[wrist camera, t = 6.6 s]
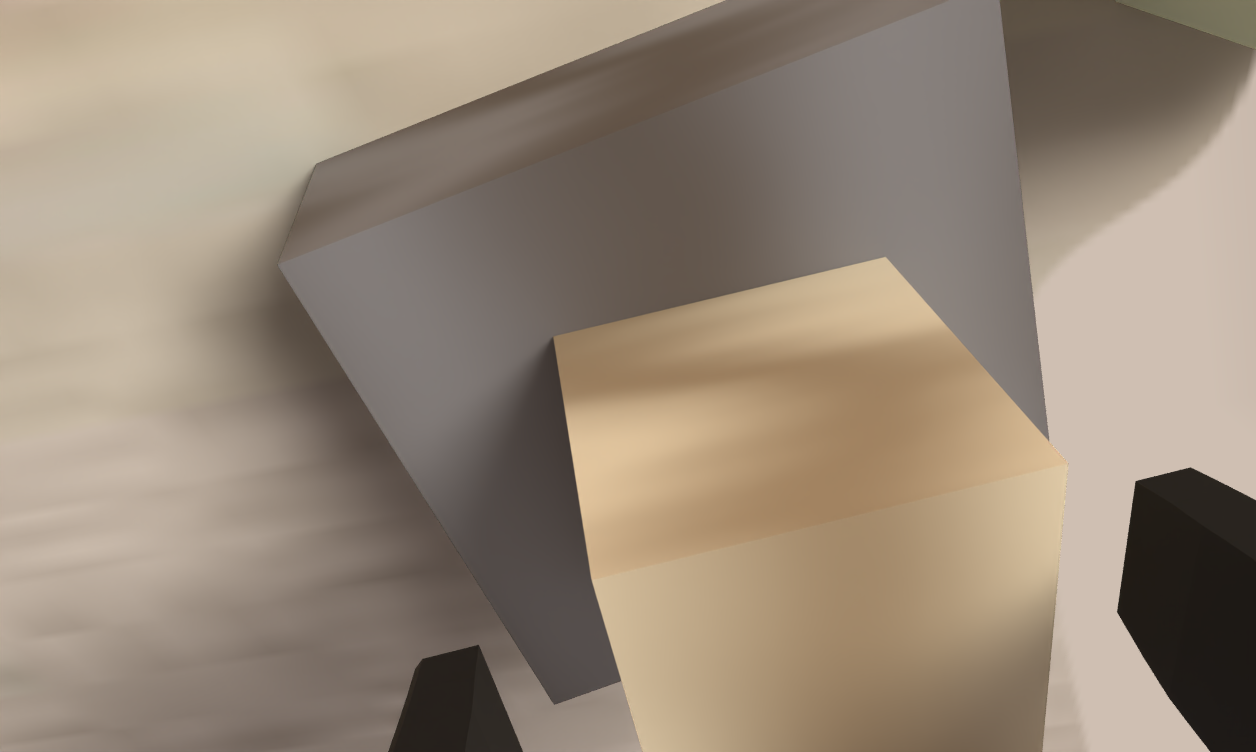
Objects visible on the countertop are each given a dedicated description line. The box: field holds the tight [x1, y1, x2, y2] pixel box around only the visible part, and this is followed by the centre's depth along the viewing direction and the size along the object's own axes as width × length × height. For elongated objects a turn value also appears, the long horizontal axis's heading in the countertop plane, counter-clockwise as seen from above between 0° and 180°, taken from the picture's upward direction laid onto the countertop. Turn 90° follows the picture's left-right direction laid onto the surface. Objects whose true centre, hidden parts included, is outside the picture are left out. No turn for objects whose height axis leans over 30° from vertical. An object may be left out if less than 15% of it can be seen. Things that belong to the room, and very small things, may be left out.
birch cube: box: [553, 257, 1068, 752], centre depth 12 cm, size 4×4×4 cm
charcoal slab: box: [277, 0, 1049, 705], centre depth 15 cm, size 9×9×4 cm
